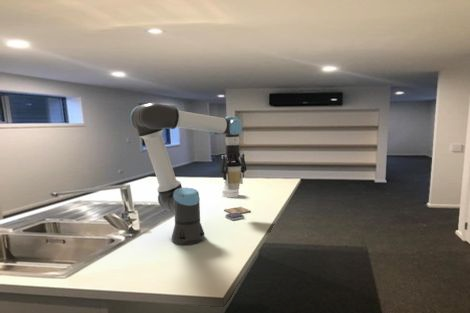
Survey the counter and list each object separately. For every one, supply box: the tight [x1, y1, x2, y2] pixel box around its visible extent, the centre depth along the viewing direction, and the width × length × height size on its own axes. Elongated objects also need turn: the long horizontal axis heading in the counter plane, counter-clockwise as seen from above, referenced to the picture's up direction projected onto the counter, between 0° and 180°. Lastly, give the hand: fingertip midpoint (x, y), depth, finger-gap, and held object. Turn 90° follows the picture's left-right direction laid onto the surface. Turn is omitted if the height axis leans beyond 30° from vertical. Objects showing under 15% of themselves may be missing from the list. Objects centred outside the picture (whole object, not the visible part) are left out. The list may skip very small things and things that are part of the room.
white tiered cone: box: [221, 180, 240, 199], centre depth 240 cm, size 13×13×18 cm
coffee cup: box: [224, 161, 242, 190], centre depth 180 cm, size 10×10×15 cm
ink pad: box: [224, 213, 245, 221], centre depth 182 cm, size 8×8×2 cm
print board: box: [223, 206, 252, 215], centre depth 195 cm, size 12×12×1 cm
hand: (233, 184), depth 180 cm, fingers closed on coffee cup, 9 cm apart
